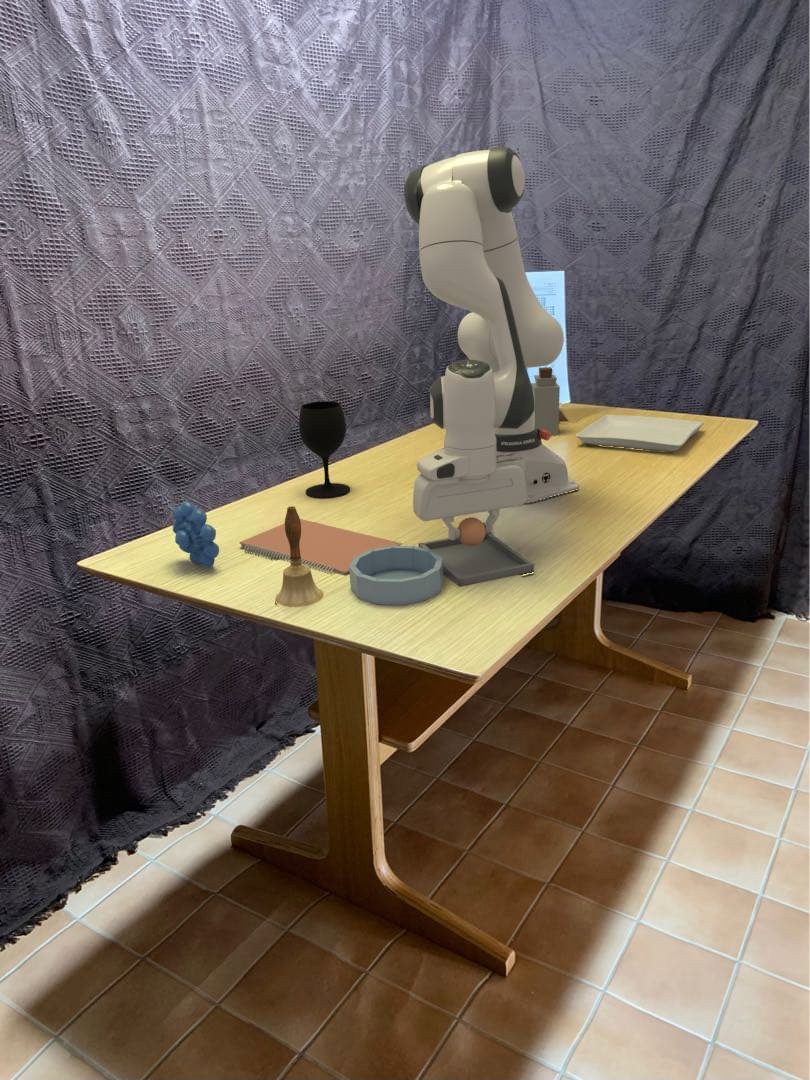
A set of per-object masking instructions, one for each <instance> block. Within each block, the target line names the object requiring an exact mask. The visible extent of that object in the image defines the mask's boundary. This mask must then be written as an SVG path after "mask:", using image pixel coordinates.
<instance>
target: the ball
mask: <svg viewBox="0 0 810 1080" xmlns="http://www.w3.org/2000/svg"><path fill="white" fill-rule="evenodd" d="M483 523H484V522H483V521H482V520H480V519H479V518H477V517H467V518H464V519H462V521H460V522H459V524H458V526H457V528H458V529H459V530H460V539H459V540H460V541H461V542H462V543H463V544H465V545H467V546H475V545H478V544H480V543H481V542H482V541H483V539H484V538H485V534H486V529H485V526H484V524H483Z"/></svg>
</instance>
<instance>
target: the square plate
mask: <svg viewBox="0 0 810 1080" xmlns="http://www.w3.org/2000/svg"><path fill="white" fill-rule="evenodd" d="M703 425H704V422H702V421H693V420H687V419H685V420H684V419H676V418H669V417H668V418H666V417H657V416H646V415H645V416H642V415H628V414H627V415H624V414H623V415H622V414H620V415H619V414H604V415H603V416H601V417H599V418H598V419H597V420H595V421H593V422H592V423H591V424H589V425H588V426H586V427H585V428H584V429H582V430H580V431H579V432H578V433H577V434H575V437H576V438H577V439H578V440H579V441H581V442H582V443H584V444H588V445H594V446H597V445H602V446H613V447H624V448H634V449H643V450H650V451H649V452H653V451H661V452H660V453H663V452H662V451H668V452H670V453H672V452H676V451H679V450H680V449H681V448H682V447H683V446H684V444H685V443H686V442H687V441H688V440H689V439H690V438H692V436H694V435H695V434H696V433H697V432H698V431H699V430H700V429H701V428H702V426H703Z"/></svg>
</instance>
